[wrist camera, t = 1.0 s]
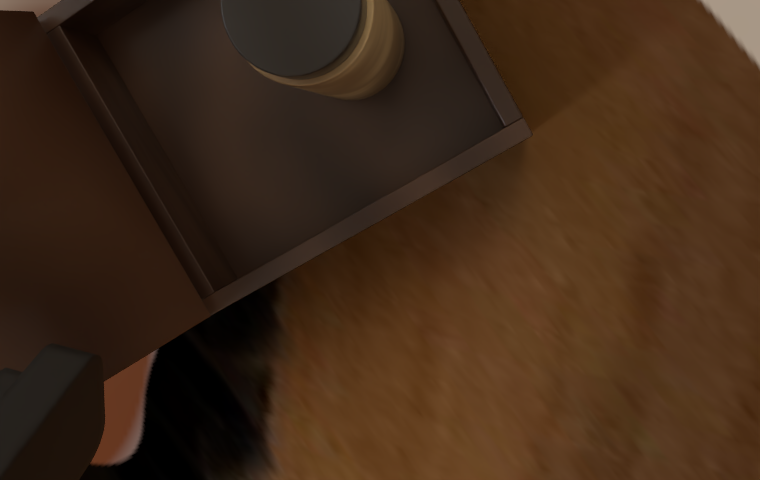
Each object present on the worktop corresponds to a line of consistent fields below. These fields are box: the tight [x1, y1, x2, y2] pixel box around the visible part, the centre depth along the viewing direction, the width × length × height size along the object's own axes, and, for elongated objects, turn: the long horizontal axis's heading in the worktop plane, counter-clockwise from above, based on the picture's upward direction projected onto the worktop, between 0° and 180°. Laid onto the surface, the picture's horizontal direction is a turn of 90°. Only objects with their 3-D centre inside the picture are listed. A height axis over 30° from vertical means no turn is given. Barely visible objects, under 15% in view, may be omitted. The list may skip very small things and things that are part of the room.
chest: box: [37, 0, 533, 316], centre depth 31 cm, size 16×15×4 cm
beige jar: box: [221, 0, 405, 100], centre depth 27 cm, size 5×5×10 cm
